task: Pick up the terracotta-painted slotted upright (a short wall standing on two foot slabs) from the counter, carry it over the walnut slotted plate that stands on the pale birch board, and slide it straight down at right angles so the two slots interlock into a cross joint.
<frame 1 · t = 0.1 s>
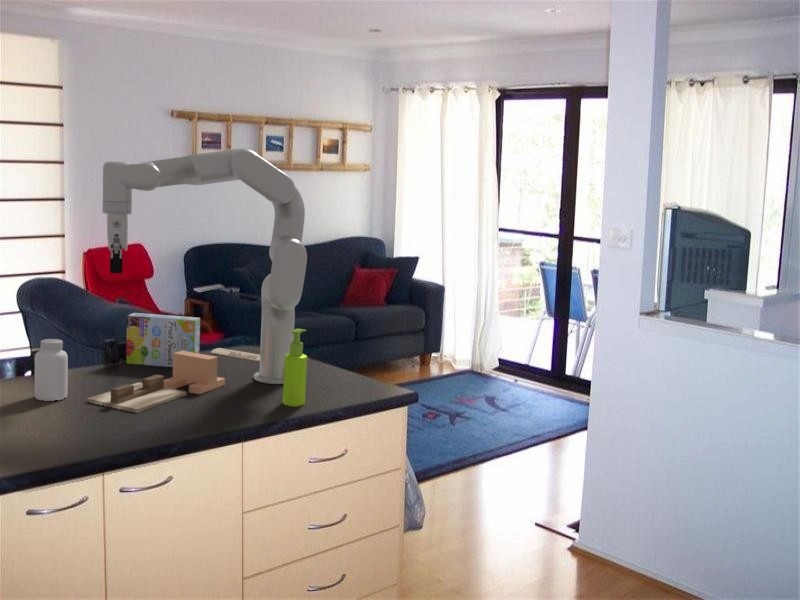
hand: (116, 270, 251), 31 cm above the worktop, tool pointing down, fingers open, 9 cm apart
pill bottle: (51, 398, 237), on the worktop
cross plate: (194, 386, 257), on the worktop
newspaper: (245, 359, 294), on the worktop
soap dispenser: (294, 403, 246), on the worktop
snack box: (162, 365, 278), on the worktop
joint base: (137, 398, 241), on the worktop
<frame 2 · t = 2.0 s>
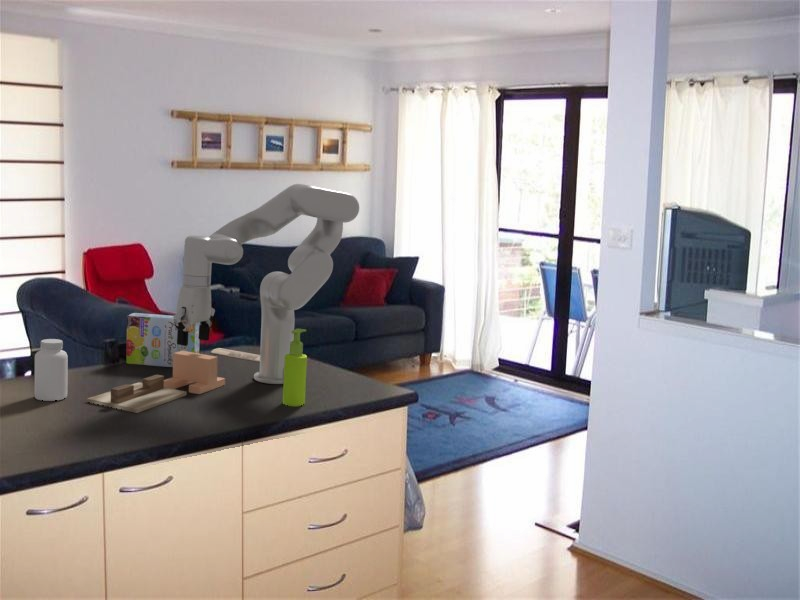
hand: (193, 342, 254), 12 cm above the worktop, tool pointing down, fingers open, 9 cm apart
nothing on the worktop moved.
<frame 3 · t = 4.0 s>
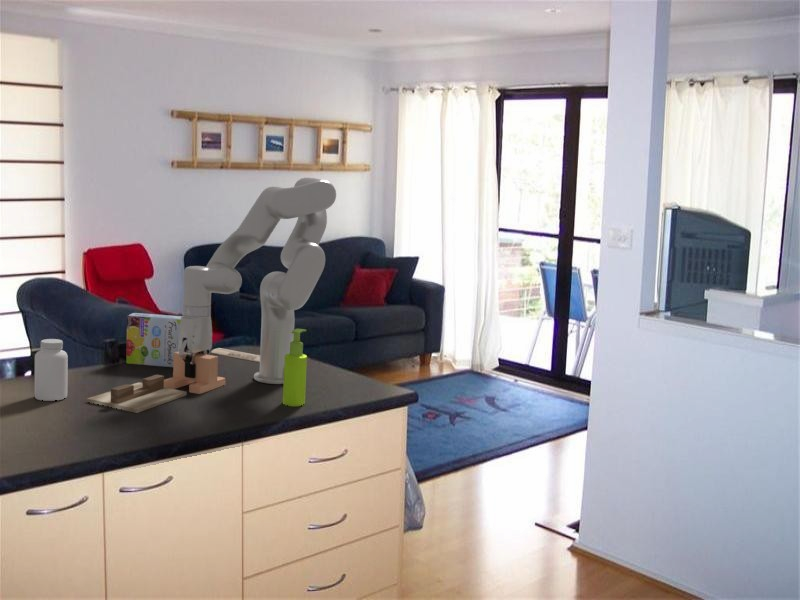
hand: (195, 375, 256), 3 cm above the worktop, tool pointing down, fingers closed on cross plate, 4 cm apart
cross plate: (194, 386, 257), on the worktop, touching gripper
everything else where it was.
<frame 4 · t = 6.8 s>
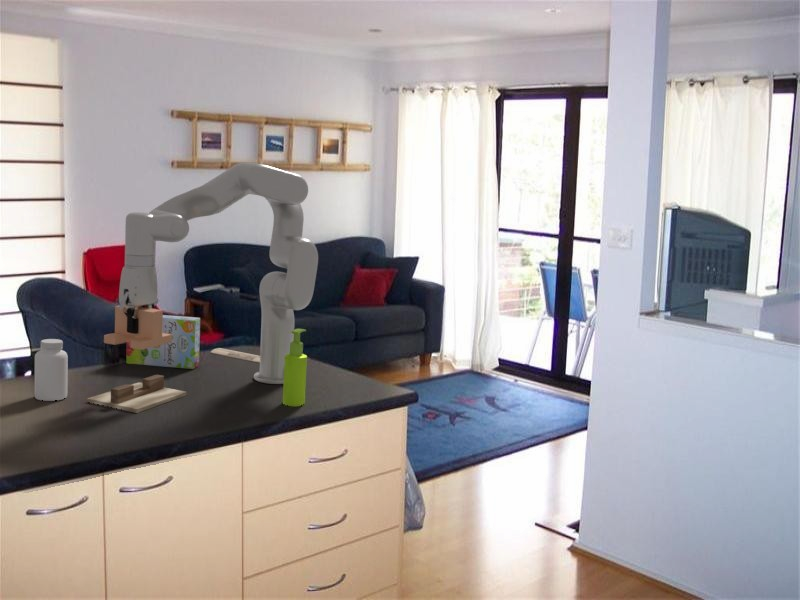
hand: (138, 330, 238), 18 cm above the worktop, tool pointing down, fingers closed on cross plate, 4 cm apart
cross plate: (138, 342, 238), point 15 cm above the worktop, touching gripper
everything else where it was.
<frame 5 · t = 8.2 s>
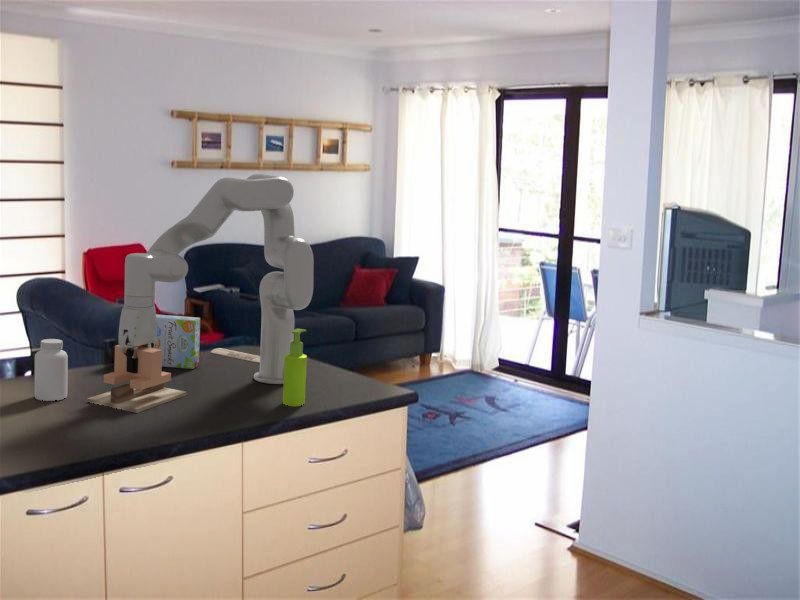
hand: (138, 370, 240), 8 cm above the worktop, tool pointing down, fingers closed on cross plate, 4 cm apart
cross plate: (137, 381, 240), point 5 cm above the worktop, touching gripper
when the fingers open (6 cm above the worktop, at t = 9.6 s): cross plate drops 2 cm, resting on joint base.
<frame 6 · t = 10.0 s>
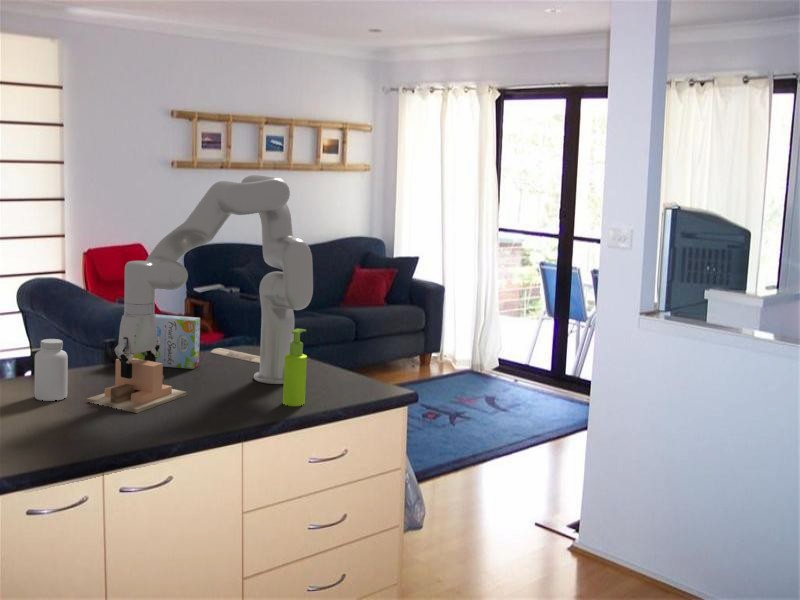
hand: (138, 374, 240), 7 cm above the worktop, tool pointing down, fingers open, 8 cm apart
cross plate: (138, 394, 241), point 1 cm above the worktop, touching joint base
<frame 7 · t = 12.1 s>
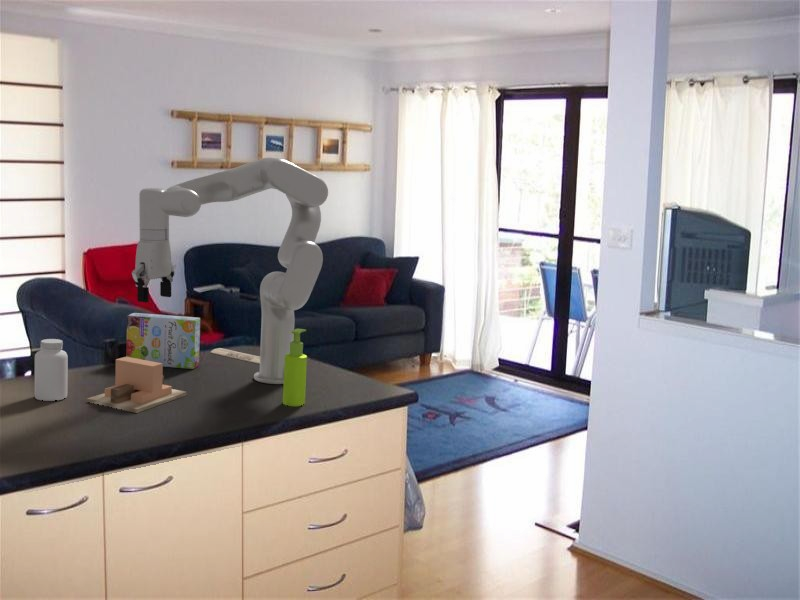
hand: (154, 299, 246), 25 cm above the worktop, tool pointing down, fingers open, 9 cm apart
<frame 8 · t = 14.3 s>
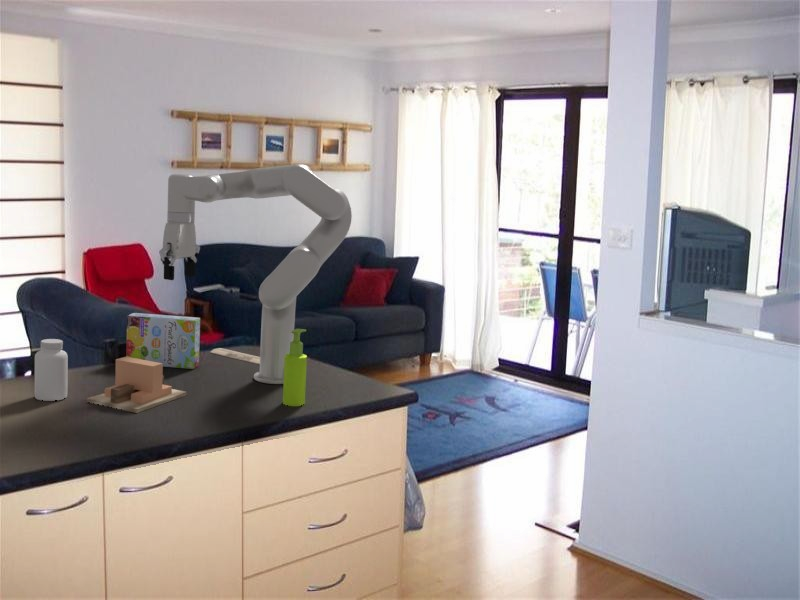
hand: (179, 277, 264), 28 cm above the worktop, tool pointing down, fingers open, 9 cm apart
at the end: cross plate 0.2 cm off-centre on the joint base, point 1.0 cm above the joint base's base; cross plate tilted 0°; the gripper is holding nothing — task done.
